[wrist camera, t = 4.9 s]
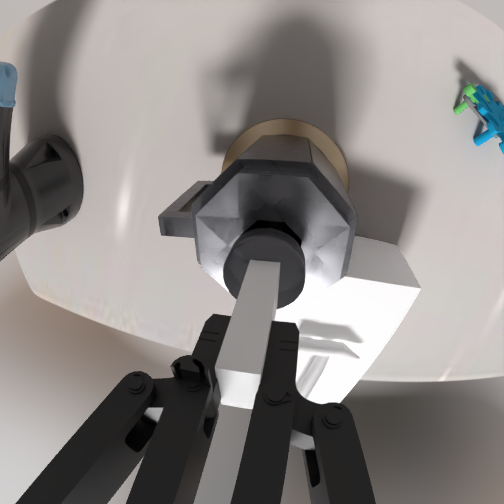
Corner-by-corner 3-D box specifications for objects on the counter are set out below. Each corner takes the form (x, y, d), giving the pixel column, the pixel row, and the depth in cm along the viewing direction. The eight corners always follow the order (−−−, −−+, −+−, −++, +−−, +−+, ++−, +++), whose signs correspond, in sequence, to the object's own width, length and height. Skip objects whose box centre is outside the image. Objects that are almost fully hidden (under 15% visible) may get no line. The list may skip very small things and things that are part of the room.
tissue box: (396, 244, 31) (429, 303, 22) (334, 362, 45) (339, 416, 36) (285, 222, 31) (284, 283, 22) (254, 353, 45) (247, 408, 36)
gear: (525, 132, 17) (534, 183, 15) (497, 149, 23) (497, 199, 21) (472, 63, 17) (474, 98, 15) (445, 88, 23) (437, 127, 20)
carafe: (210, 222, 33) (160, 297, 21) (205, 133, 27) (135, 163, 16) (328, 231, 31) (339, 318, 19) (338, 138, 25) (370, 172, 14)
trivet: (225, 233, 34) (223, 235, 34) (220, 118, 27) (219, 118, 26) (339, 242, 32) (339, 245, 32) (353, 125, 25) (354, 125, 24)
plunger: (243, 226, 29) (201, 321, 17) (241, 152, 25) (184, 206, 13) (318, 232, 28) (324, 335, 16) (325, 157, 24) (349, 217, 12)
